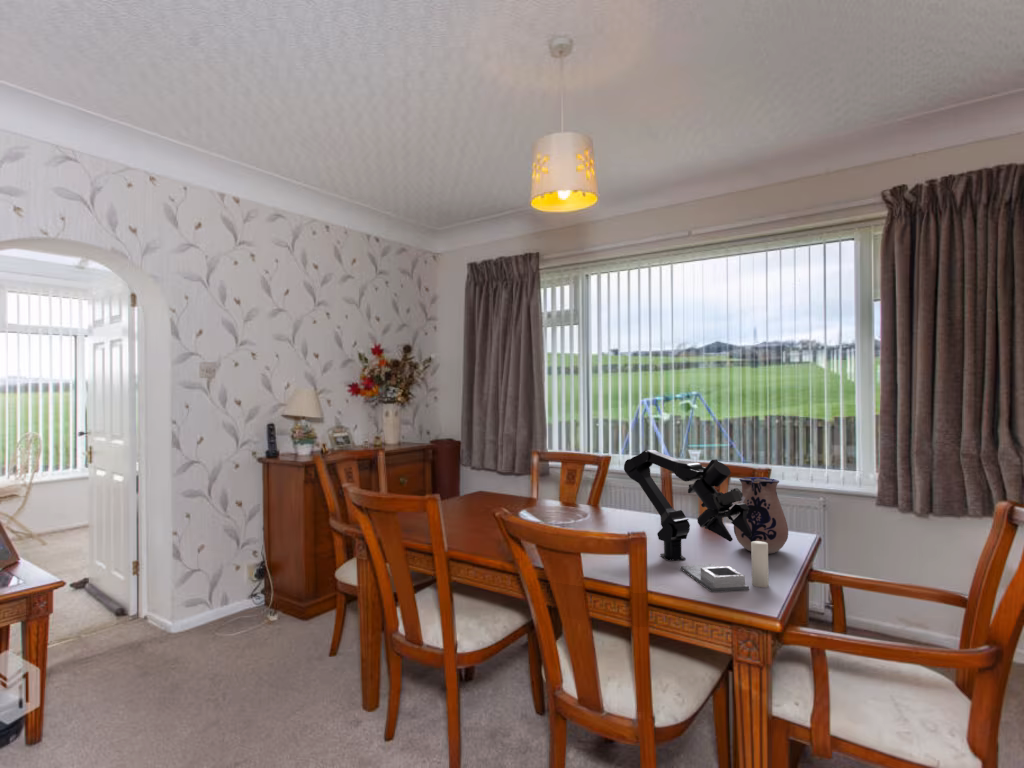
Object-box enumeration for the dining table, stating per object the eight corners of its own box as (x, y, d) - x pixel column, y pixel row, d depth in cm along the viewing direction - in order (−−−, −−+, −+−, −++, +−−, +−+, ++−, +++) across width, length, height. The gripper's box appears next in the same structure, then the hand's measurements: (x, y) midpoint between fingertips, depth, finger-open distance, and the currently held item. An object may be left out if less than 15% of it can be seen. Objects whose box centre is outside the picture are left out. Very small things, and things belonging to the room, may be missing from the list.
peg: (748, 582, 160) (748, 541, 161) (763, 582, 161) (762, 540, 161) (757, 587, 156) (756, 545, 156) (771, 587, 156) (771, 544, 157)
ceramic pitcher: (731, 554, 189) (730, 481, 190) (737, 539, 208) (736, 473, 209) (788, 560, 181) (786, 484, 182) (789, 545, 200) (788, 476, 200)
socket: (680, 569, 173) (680, 556, 173) (713, 567, 175) (713, 554, 175) (711, 592, 153) (711, 577, 153) (748, 590, 154) (748, 575, 154)
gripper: (704, 482, 163) (738, 527, 154) (743, 477, 174) (777, 518, 164) (683, 505, 170) (715, 549, 160) (722, 498, 180) (753, 539, 170)
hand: (741, 538), depth 164 cm, fingers open, 9 cm apart
